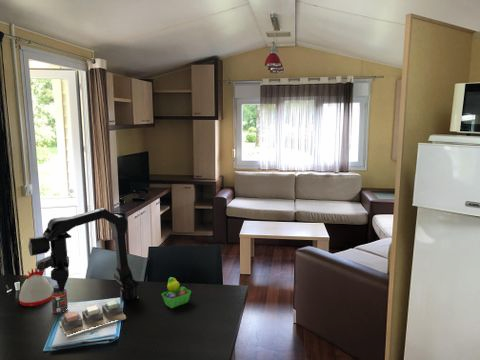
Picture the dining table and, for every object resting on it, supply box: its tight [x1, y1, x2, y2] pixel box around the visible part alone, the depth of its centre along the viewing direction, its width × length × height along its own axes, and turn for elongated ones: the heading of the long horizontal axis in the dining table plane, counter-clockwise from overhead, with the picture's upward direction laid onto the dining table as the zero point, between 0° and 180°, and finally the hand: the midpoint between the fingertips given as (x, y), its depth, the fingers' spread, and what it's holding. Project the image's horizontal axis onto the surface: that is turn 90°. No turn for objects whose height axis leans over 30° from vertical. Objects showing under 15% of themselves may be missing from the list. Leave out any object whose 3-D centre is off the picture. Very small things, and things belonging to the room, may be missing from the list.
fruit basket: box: [161, 276, 192, 309], centre depth 170 cm, size 11×9×11 cm
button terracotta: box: [64, 310, 78, 323], centre depth 149 cm, size 4×4×3 cm
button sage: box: [105, 299, 119, 310], centre depth 159 cm, size 4×4×3 cm
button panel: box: [58, 302, 127, 337], centre depth 155 cm, size 23×12×4 cm, turn 127°
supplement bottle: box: [51, 284, 69, 315], centre depth 163 cm, size 6×6×11 cm
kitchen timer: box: [18, 267, 54, 307], centre depth 174 cm, size 14×14×15 cm
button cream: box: [85, 304, 100, 316], centre depth 154 cm, size 4×4×3 cm
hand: (62, 286), depth 155 cm, fingers open, 9 cm apart
